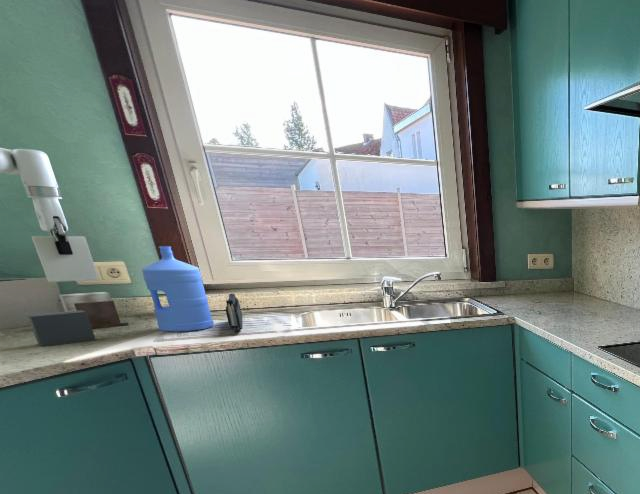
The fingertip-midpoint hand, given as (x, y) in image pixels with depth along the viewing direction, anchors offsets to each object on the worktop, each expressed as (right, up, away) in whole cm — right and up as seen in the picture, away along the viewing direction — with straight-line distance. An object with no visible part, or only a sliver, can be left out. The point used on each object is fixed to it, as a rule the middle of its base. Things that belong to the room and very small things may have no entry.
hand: (64, 253), depth 162 cm
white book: (0, -8, +3) cm, 9 cm away
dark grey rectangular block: (+10, -31, -8) cm, 33 cm away
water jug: (+27, -22, +16) cm, 39 cm away
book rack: (-4, -21, +15) cm, 26 cm away
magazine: (+42, -21, +20) cm, 51 cm away
